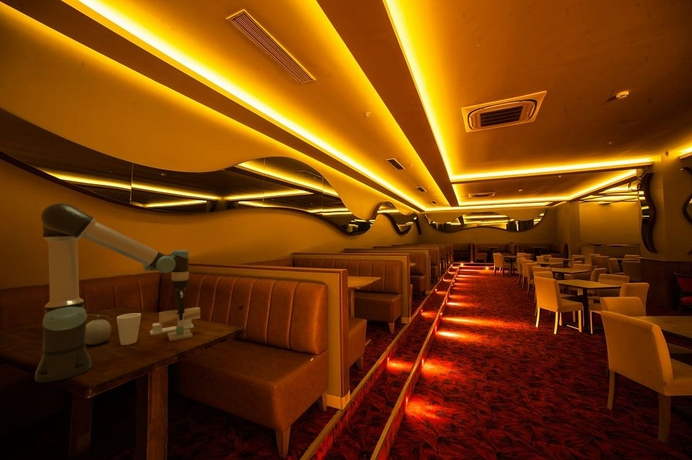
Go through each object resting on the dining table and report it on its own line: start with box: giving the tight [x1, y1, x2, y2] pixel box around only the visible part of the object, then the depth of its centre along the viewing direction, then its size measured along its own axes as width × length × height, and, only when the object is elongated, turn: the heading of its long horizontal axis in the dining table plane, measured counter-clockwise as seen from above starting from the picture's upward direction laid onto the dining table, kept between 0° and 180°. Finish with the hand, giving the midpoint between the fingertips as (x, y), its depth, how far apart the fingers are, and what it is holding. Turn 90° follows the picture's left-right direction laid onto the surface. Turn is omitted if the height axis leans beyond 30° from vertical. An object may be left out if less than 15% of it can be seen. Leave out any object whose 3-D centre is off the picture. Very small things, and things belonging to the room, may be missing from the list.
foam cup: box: [116, 312, 142, 346], centre depth 138 cm, size 10×9×13 cm
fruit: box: [86, 313, 112, 346], centre depth 137 cm, size 10×12×15 cm
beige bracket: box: [149, 319, 195, 336], centre depth 156 cm, size 6×20×4 cm, turn 127°
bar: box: [158, 306, 201, 325], centre depth 146 cm, size 5×18×5 cm, turn 127°
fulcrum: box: [167, 322, 193, 342], centre depth 146 cm, size 10×10×7 cm
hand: (179, 324), depth 146 cm, fingers closed on bar, 5 cm apart
